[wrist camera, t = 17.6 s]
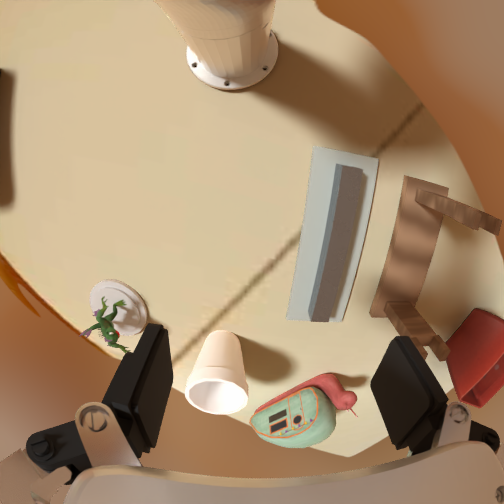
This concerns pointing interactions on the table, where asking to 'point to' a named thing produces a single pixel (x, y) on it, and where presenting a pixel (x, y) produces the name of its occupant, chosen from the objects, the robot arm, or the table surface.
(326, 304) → the rail
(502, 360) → the plant pot
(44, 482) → the robot arm
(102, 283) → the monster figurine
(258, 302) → the table surface
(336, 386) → the toy snail
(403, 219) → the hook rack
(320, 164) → the mat
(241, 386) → the foam cup
